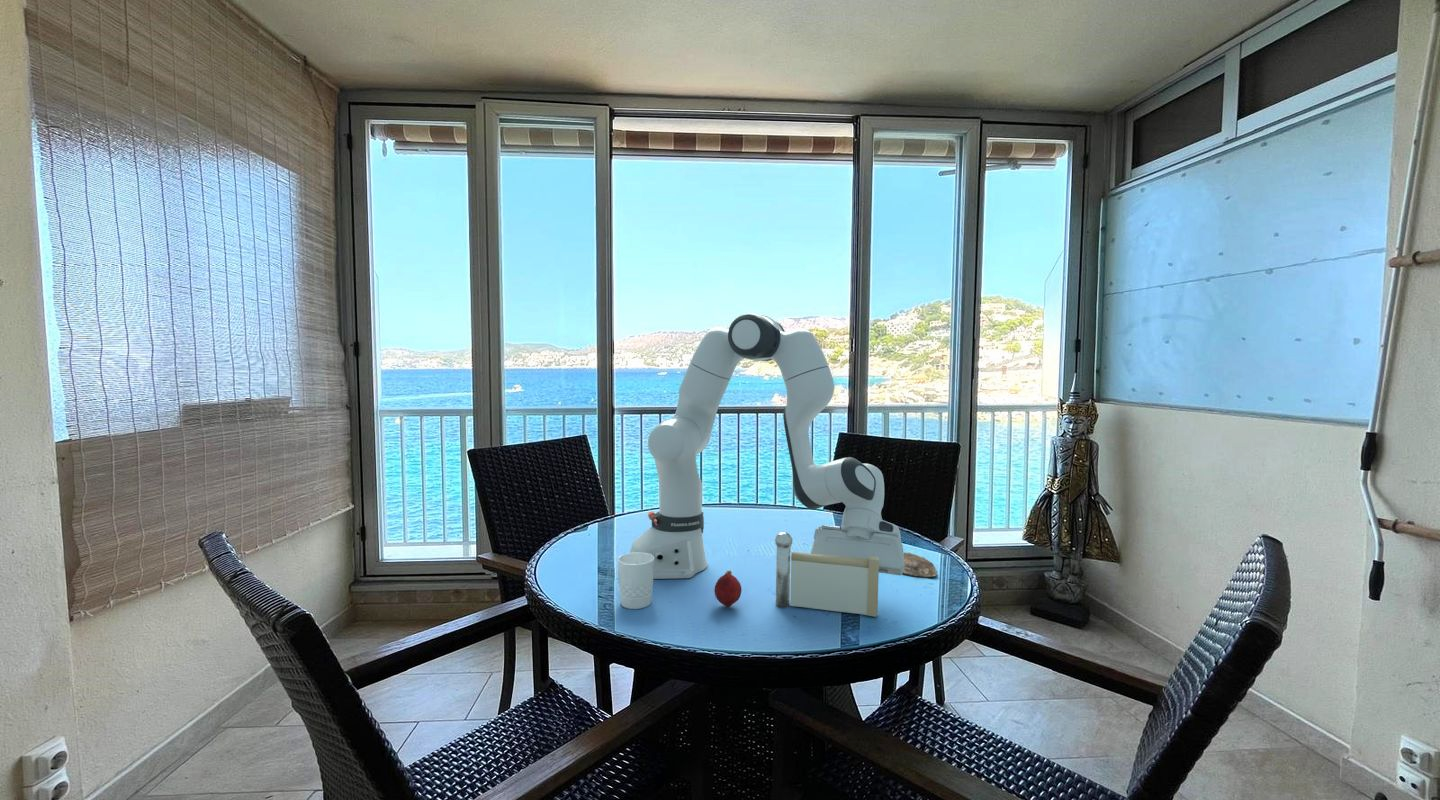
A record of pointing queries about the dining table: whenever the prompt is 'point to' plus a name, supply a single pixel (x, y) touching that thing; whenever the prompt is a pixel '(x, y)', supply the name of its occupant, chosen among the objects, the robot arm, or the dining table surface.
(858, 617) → the dining table surface
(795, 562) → the gate leaf
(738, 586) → the onion
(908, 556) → the shell
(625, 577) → the white cup
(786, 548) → the gate post
